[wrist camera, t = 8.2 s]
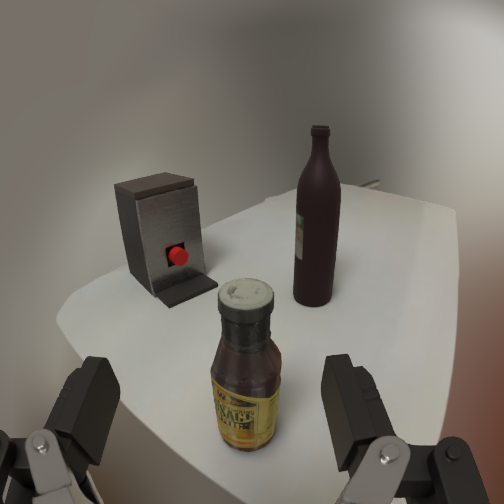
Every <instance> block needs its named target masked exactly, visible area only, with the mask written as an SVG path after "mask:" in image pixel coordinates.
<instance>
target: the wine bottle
mask: <svg viewBox="0 0 504 504" xmlns="http://www.w3.org/2000/svg"><path fill="white" fill-rule="evenodd" d="M311 135H312V152H311V156H310V158H309V161H308V163H307V165H306V166H305V168H304V170H303V172H302V174H301V176H300V178H299V183H298V187H297V203H296V238H295V263H294V285H293V295H294V298H295V300H296V301H297V302H299V303H301V304H303V305H306V306H321V305H324V304H326V303H327V302H328V301H329V300H330V298H331V294H332V286H333V278H334V269H335V260H336V251H337V240H338V229H339V217H340V204H341V187H340V181H339V179H338V176H337V173H336V171H335V169H334V167H333V165H332V162H331V160H330V157H329V148H328V143H329V136H330V129H329V126H320V125H313V127H312V128H311Z"/></svg>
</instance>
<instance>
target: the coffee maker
mask: <svg viewBox="0 0 504 504" xmlns="http://www.w3.org/2000/svg"><path fill="white" fill-rule="evenodd" d="M114 188H115V195H116V200H117V207H118V213H119V219H120V225H121V230H122V236H123V241H124V245H125V251H126V255H127V260H128V265H129V269H130V273H131V274H132V275H133V276H134V277H135V278H136V279H137V280H138V281H139V282H140V283H141V284H142V285H143V286H144V287H145V288H146V289H147V290H148V291H149V292H150V293H151V294H152V295H153V296H154V297H158V298H159V299H160V300H161V301H162V302H163V303H164V304H165V305H166V306H167V307H168V308H171V307H173V306H175V305H177V304H180V303H182V302H184V301H186V300H189V299H191V298H193V297H195V296H198V295H200V294H202V293H204V292H207V291H209V290H211V289H213V288H215V287H218V283H217V282H215V281H214V280H212V279H211V278H209V277H208V276H206V275H205V266H204V256H203V246H202V236H201V226H200V214H199V203H198V191H197V186H196V185H194V179H192V178H188V177H184V176H179V175H175V174H170V173H166V172H165V173H161V174H156V175H151V176H147V177H142V178H138V179H134V180H130V181H126V182H122V183H118V184H114ZM174 247H181V248H182V249H184V250H186V251H187V252H188V255H189V258H188V261H187V262H186V264H184V265H183V266H177V265H175V264H174V263H172V262H171V261H170V260H169V252H170V251H171V249H172V248H174Z"/></svg>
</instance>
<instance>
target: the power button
mask: <svg viewBox="0 0 504 504" xmlns="http://www.w3.org/2000/svg"><path fill="white" fill-rule="evenodd" d="M188 258H189V255H188V252H187V251H186V250H184V249H182V248H181V247H174V248H172V249H171V251H170V252H169V260H170V261H171V262H172V263H174V264H175V265H177V266H183V265H184V264H186V262H187V261H188Z"/></svg>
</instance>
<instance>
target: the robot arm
mask: <svg viewBox="0 0 504 504" xmlns="http://www.w3.org/2000/svg"><path fill="white" fill-rule="evenodd" d="M321 396H322V401H323V405H324V409H325V413H326V417H327V422H328V426H329V430H330V435H331V439H332V443H333V448H334V452H335V456H336V461H337V465H338V470H339V472H341V471H346V470H348V473H349V477H350V479H349V481H348V483H347V485H346V486H345V488H344V490H343V491H342V493H341V495H340V496H339V498H338V499H337V501H336V503H335V504H391V502H392V500H393V498H406V502H407V504H490V503H489V500H488V497H487V494H486V491H485V488H484V485H483V482H482V479H481V476H480V474H479V471H478V468H477V465H476V463H475V460H474V458H473V455H472V453H471V450H470V448H469V446H468V444H467V443H466V442H465V441H464V440H463V439H461V438H458V437H446V438H444V439H443V440H441V441H440V442H439V443H438V444H437V445H434V446H419V445H410V444H407V443H406V442H405V441H404V440H402V439H401V438H399V437H397V435H396V434H395V432H394V430H393V428H392V425H391V422H390V420H389V417H388V415H387V412H386V409H385V407H384V404H383V402H382V399H380V394H379V392H378V389H376V385H375V382H374V380H373V377H372V375H371V374H370V373H369V372H368V371H367V370H366V369H365V368H364V367H363V366H359V367H353V365H352V362H351V360H350V357H349V355H348V354H340V355H331V356H327V357H326V360H325V365H324V371H323V376H322V381H321ZM119 399H120V385H119V383H118V380H117V378H116V376H115V374H114V372H113V369H112V367H111V365H110V363H109V361H108V359H107V358H103V357H92V356H88V357H87V358H86V359H85V361H84V363H83V365H82V367H81V368H77V369H76V370H74V371H73V372H72V373H71V374H70V375H69V376H68V378H67V380H66V382H65V384H64V386H63V389H62V390H61V392H60V394H59V397H58V398H57V400H56V403H55V405H54V407H53V409H52V411H51V413H50V416H49V418H48V420H47V422H46V425H45V427H44V428H43V429H38V430H35V431H33V432H32V433H31V434H30V435H29V436H28V437H27V438H9V437H8V436H7V434H6V433H5V432H4V431H2V430H0V504H104V503H103V501H102V499H101V497H100V495H99V493H98V491H97V489H96V487H95V485H94V483H93V481H92V479H91V476H90V474H89V472H88V471H87V469H88V465H89V464H92V465H97V466H99V465H100V462H101V458H102V454H103V451H104V447H105V444H106V441H107V437H108V434H109V430H110V427H111V424H112V420H113V418H114V414H115V411H116V408H117V405H118V402H119ZM8 475H9V476H10V477H12V479H11V483H10V486H9V489H8V493H7V497H6V500H5V503H3V499H2V496H3V492H4V488H5V485H6V482H7V479H8Z"/></svg>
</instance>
